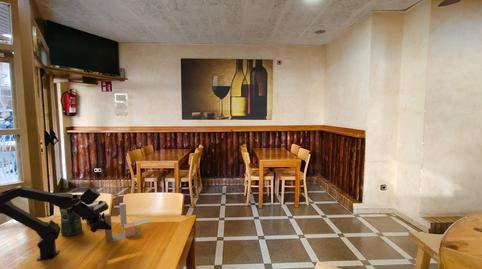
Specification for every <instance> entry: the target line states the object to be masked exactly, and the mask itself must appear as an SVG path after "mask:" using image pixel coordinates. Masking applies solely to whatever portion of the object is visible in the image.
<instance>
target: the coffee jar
mask: <svg viewBox="0 0 482 269" xmlns="http://www.w3.org/2000/svg"><path fill="white" fill-rule="evenodd" d="M58 208H59V209H58V211H59V212H60V234H61V235H62V236H64V237H65V236H67V237H70V236H71V237H73V236H75V235H78V234H80V233H81V232H82V231H83V224H82V218H81V217H80V216H78V215H76V214H75V213H73V212H71V213H70V214H69V215H67V211H66V210H67V209H63V208H60V207H58ZM69 208H70V207H69Z"/></svg>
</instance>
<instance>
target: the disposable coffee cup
mask: <svg viewBox="0 0 482 269" xmlns="http://www.w3.org/2000/svg"><path fill="white" fill-rule="evenodd" d="M99 201H100V200H95V201H94V202H93V203H92V204H90V205H88V206H89V207H92V206H93V207H96V206H97V205H98V202H99ZM84 204H85V203H84ZM86 205H87V204H86ZM85 221H86V220H85ZM86 225H90V224H89V222H88V221H86ZM90 226H91V225H90Z"/></svg>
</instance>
